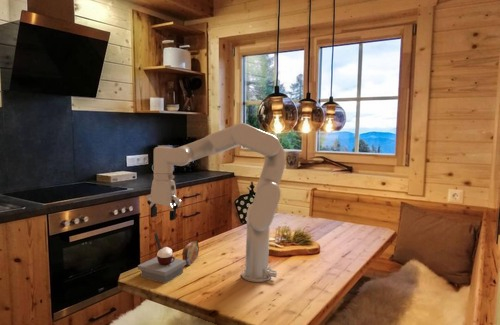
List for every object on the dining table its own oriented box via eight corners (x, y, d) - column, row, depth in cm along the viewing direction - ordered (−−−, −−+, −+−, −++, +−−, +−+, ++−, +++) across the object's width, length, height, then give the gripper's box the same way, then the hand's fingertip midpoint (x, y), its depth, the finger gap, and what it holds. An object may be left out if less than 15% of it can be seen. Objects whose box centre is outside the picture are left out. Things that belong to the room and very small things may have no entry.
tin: (187, 268, 159) (187, 249, 158) (180, 267, 160) (181, 248, 159) (199, 256, 174) (199, 239, 173) (193, 255, 175) (193, 238, 174)
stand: (186, 272, 155) (186, 260, 154) (165, 284, 142) (165, 272, 142) (160, 265, 161) (160, 254, 160) (137, 277, 148) (137, 265, 148)
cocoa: (176, 265, 150) (178, 237, 149) (163, 268, 146) (165, 239, 144) (163, 258, 157) (165, 231, 155) (151, 261, 152) (152, 233, 151)
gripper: (186, 177, 147) (185, 219, 149) (152, 174, 154) (152, 213, 156) (174, 180, 140) (174, 223, 142) (140, 176, 148) (140, 217, 149)
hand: (163, 218), depth 149 cm, fingers open, 9 cm apart
